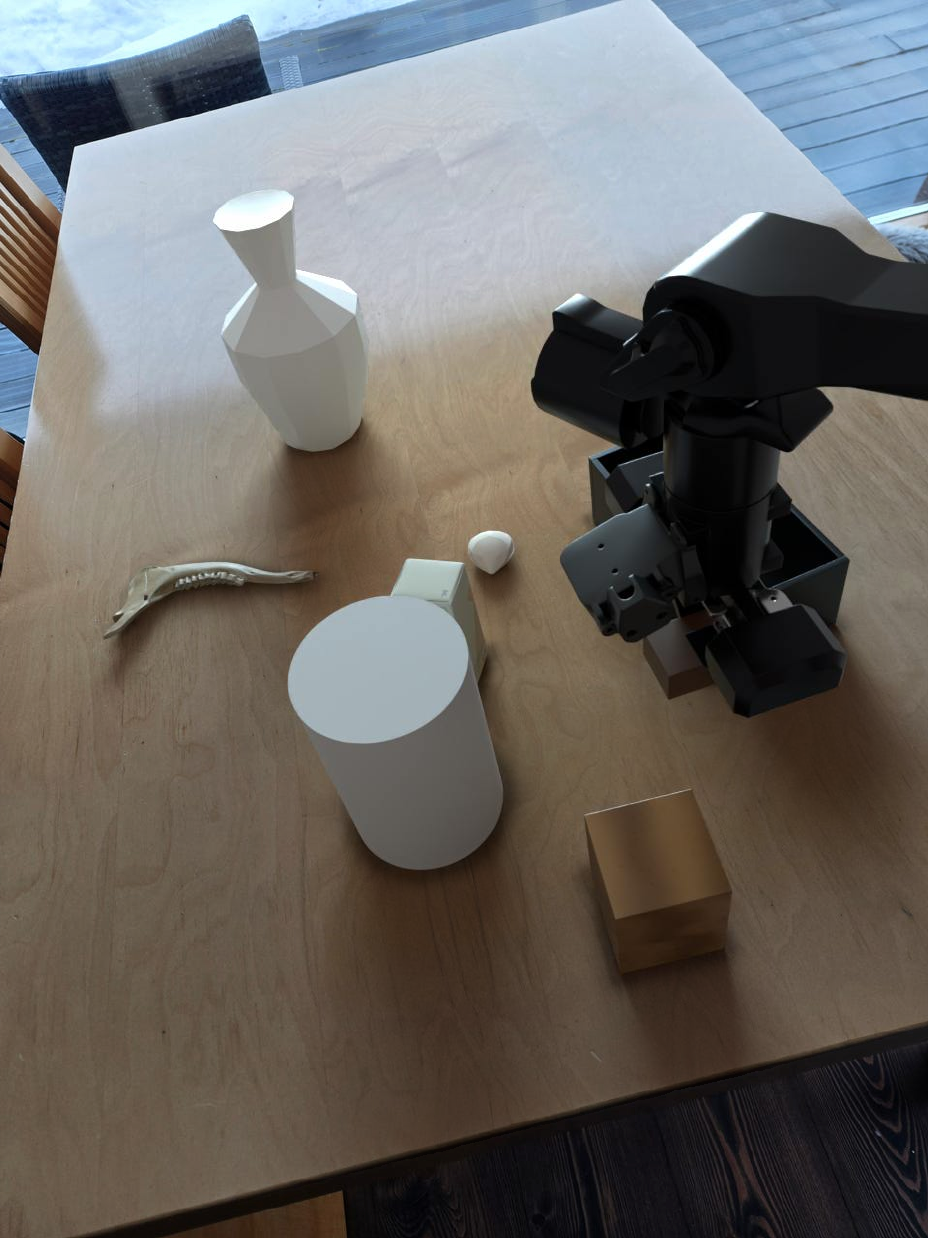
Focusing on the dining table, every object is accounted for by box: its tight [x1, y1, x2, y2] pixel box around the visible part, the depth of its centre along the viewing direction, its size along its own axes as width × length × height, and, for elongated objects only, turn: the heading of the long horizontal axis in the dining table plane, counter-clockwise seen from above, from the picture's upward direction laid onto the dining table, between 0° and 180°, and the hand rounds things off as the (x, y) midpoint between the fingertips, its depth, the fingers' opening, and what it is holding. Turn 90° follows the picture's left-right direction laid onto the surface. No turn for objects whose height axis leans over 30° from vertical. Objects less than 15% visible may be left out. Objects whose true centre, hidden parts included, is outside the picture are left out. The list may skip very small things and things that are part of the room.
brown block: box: [642, 609, 722, 701], centre depth 59 cm, size 7×4×2 cm, turn 106°
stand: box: [583, 788, 733, 975], centre depth 60 cm, size 7×7×9 cm
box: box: [389, 558, 489, 684], centre depth 75 cm, size 5×4×11 cm
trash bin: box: [587, 433, 851, 628], centre depth 79 cm, size 21×11×8 cm, turn 23°
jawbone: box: [102, 561, 320, 640], centre depth 90 cm, size 9×20×2 cm, turn 107°
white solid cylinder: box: [287, 595, 504, 871], centre depth 65 cm, size 12×12×17 cm
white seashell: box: [467, 530, 515, 575], centre depth 85 cm, size 4×5×2 cm
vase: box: [212, 188, 370, 453], centre depth 94 cm, size 14×14×25 cm
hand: (706, 656), depth 60 cm, fingers closed on brown block, 4 cm apart
